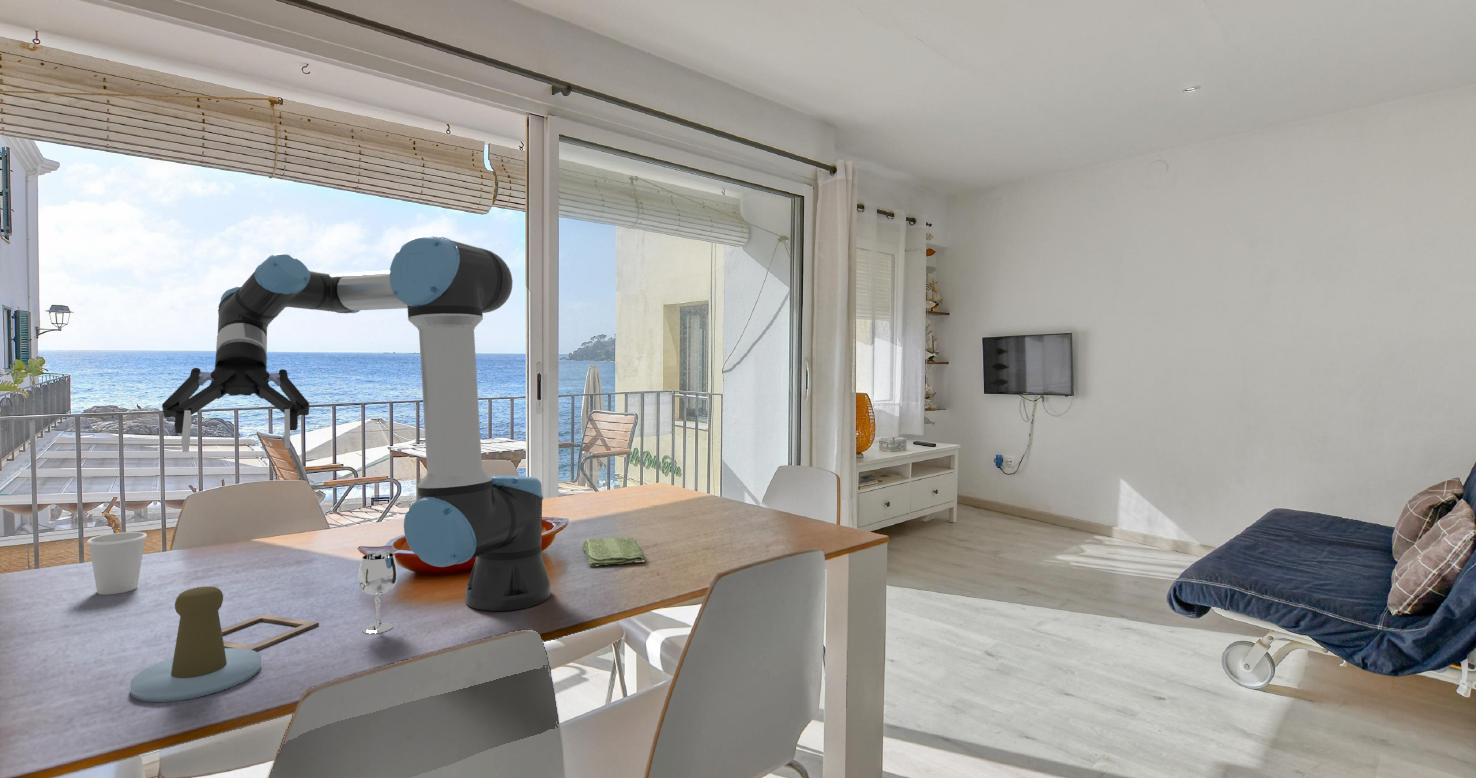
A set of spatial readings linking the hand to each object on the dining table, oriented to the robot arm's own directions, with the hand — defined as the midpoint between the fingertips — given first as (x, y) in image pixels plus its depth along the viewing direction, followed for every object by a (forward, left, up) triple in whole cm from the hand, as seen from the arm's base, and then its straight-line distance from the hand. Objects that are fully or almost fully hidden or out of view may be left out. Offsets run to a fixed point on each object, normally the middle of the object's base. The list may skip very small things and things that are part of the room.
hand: (237, 444), depth 113 cm
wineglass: (-23, -5, -30) cm, 38 cm away
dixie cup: (+37, -5, -30) cm, 48 cm away
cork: (-14, +16, -29) cm, 36 cm away
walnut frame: (-7, +3, -30) cm, 31 cm away
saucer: (-14, +17, -30) cm, 37 cm away
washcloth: (-39, -59, -30) cm, 77 cm away
